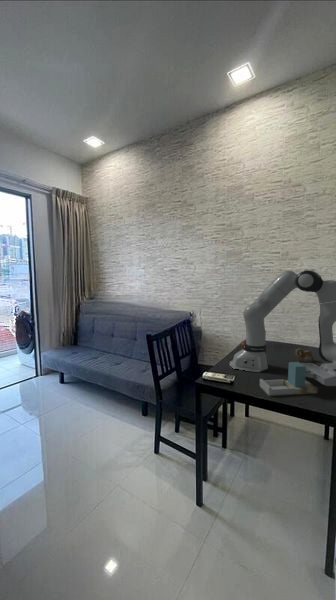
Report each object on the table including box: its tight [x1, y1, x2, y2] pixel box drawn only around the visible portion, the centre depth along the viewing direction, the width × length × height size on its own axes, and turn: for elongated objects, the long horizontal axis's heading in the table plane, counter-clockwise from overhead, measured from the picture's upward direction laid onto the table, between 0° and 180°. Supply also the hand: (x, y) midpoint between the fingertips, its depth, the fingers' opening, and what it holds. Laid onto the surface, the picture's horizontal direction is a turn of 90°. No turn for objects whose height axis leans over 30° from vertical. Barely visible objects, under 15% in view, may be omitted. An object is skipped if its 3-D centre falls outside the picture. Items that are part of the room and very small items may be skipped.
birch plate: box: [283, 379, 318, 395], centre depth 123 cm, size 11×10×2 cm
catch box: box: [259, 378, 296, 397], centre depth 122 cm, size 12×10×4 cm
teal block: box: [287, 361, 306, 387], centre depth 122 cm, size 5×6×10 cm
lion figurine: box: [295, 348, 314, 363], centre depth 160 cm, size 15×5×9 cm, turn 115°
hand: (301, 374), depth 122 cm, fingers closed
